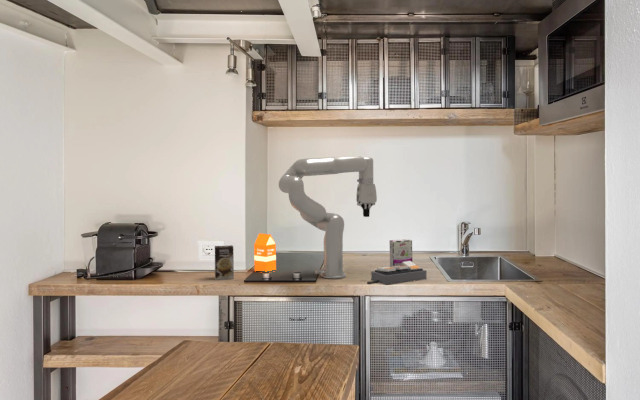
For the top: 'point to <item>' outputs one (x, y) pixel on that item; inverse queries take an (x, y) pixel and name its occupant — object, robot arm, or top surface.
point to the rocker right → (411, 265)
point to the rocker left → (386, 269)
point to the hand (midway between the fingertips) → (366, 216)
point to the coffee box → (224, 262)
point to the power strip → (397, 276)
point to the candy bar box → (400, 252)
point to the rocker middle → (400, 267)
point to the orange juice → (265, 253)
